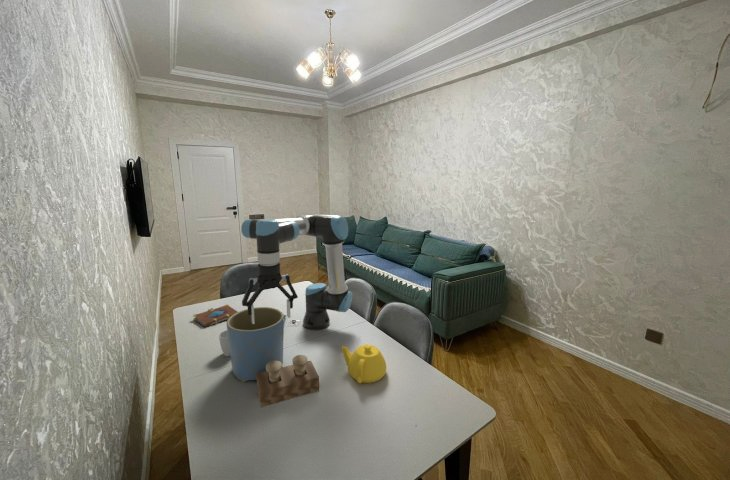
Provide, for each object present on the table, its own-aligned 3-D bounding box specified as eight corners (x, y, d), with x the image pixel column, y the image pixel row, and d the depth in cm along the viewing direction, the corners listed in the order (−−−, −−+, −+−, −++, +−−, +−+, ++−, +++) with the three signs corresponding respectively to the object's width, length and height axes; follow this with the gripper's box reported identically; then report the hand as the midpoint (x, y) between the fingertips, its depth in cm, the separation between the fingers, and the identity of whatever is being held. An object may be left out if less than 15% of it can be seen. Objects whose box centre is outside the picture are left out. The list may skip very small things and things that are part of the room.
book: (246, 315, 186) (246, 308, 185) (204, 330, 167) (204, 322, 166) (233, 306, 196) (232, 299, 195) (192, 319, 177) (191, 312, 176)
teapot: (390, 366, 136) (391, 340, 134) (378, 393, 119) (379, 364, 116) (348, 357, 143) (349, 332, 140) (331, 381, 125) (331, 353, 123)
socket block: (311, 373, 130) (310, 360, 129) (319, 390, 120) (319, 377, 119) (257, 386, 121) (256, 373, 120) (260, 407, 110) (260, 392, 109)
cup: (232, 359, 139) (230, 339, 137) (216, 356, 141) (214, 337, 139) (242, 349, 147) (241, 330, 145) (227, 347, 148) (226, 328, 146)
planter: (232, 391, 118) (228, 336, 114) (228, 360, 138) (224, 312, 133) (290, 375, 129) (289, 323, 124) (279, 348, 148) (277, 303, 144)
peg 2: (305, 369, 125) (305, 353, 124) (309, 377, 120) (309, 361, 119) (291, 373, 123) (291, 356, 122) (294, 381, 118) (294, 364, 116)
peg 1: (280, 375, 121) (280, 359, 120) (283, 384, 116) (283, 367, 115) (265, 379, 119) (264, 362, 117) (267, 388, 114) (267, 371, 112)
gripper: (300, 257, 116) (301, 310, 121) (231, 263, 106) (235, 320, 111) (305, 262, 110) (306, 317, 114) (232, 269, 100) (236, 330, 104)
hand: (271, 319), depth 112 cm, fingers open, 12 cm apart
